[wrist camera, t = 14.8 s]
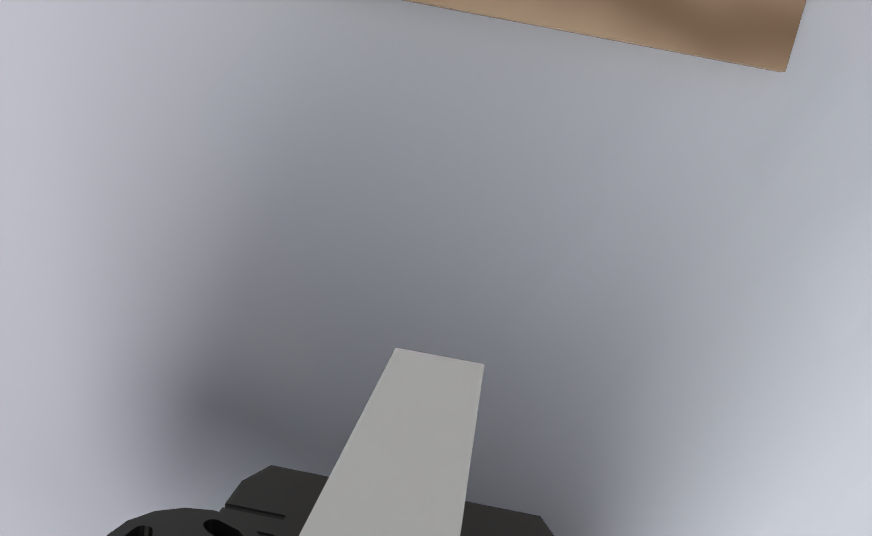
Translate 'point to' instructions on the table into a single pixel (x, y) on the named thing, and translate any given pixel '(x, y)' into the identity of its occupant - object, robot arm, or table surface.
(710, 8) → the board
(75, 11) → the table surface
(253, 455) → the table surface
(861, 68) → the table surface
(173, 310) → the table surface
